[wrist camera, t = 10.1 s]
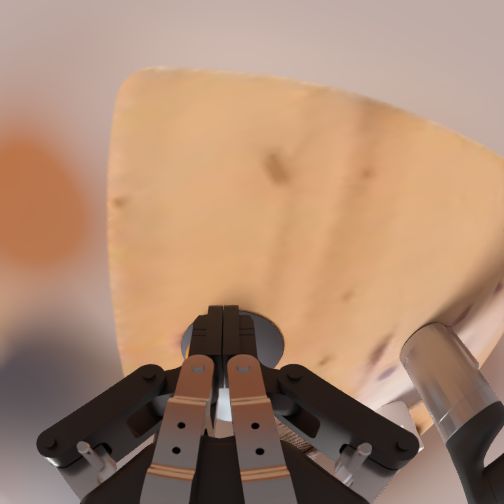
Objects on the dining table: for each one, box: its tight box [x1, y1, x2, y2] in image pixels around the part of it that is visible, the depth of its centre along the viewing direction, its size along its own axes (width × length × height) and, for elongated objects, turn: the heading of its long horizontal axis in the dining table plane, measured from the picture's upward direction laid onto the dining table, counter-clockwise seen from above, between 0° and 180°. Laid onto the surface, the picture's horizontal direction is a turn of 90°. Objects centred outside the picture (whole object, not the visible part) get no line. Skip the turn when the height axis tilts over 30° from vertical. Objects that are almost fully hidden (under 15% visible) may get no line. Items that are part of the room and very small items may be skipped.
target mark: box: [181, 311, 283, 383], centre depth 35 cm, size 13×13×1 cm
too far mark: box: [217, 383, 232, 421], centre depth 40 cm, size 11×11×1 cm
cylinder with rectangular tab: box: [375, 401, 424, 452], centre depth 41 cm, size 9×9×12 cm
